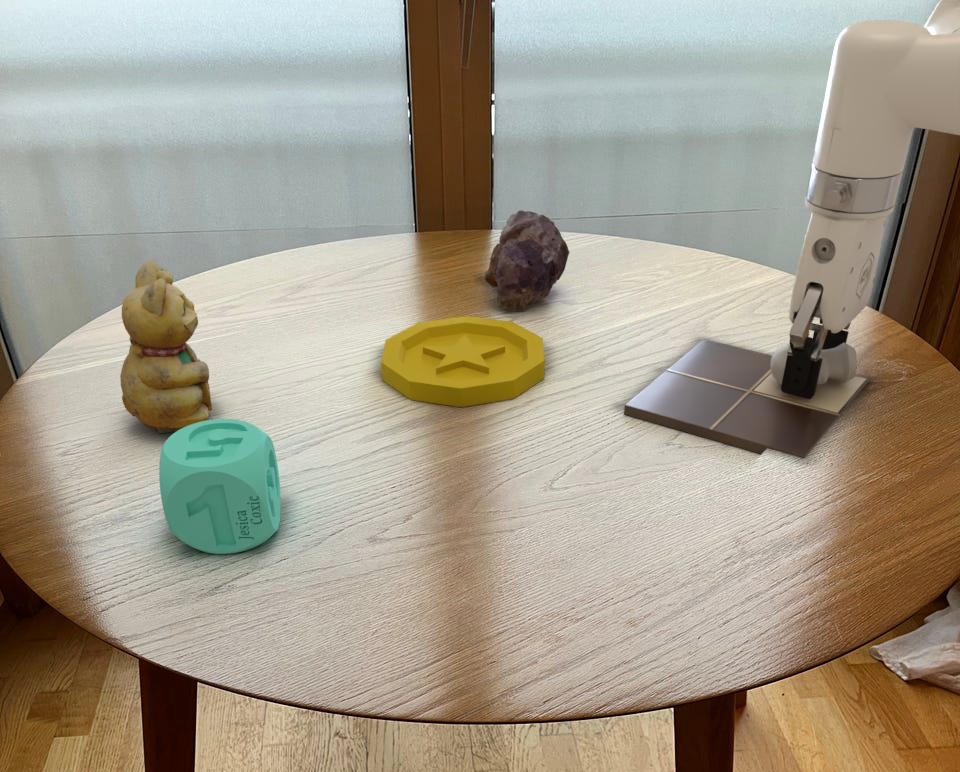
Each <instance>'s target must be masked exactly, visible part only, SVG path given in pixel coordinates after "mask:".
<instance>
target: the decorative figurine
mask: <svg viewBox="0 0 960 772" xmlns="http://www.w3.org/2000/svg"><path fill="white" fill-rule="evenodd" d="M173 279H174V278H173V275H172V273H171V272H170V271H169V270H168V269H167V268H164V267H161V266H159V267H158V263H157V260H156V259H148V260H147V261H145V262H144V263H143V264H142V265H141V266H140V267H139V269H138V270H137V273H136V275H135V284H134V285H135V288H133V289H132V290H131V291H130V292H129V293H127V294H126V296H125V298H124V299H123V302H122V304H121V319H122V323H123V326H124V329H125V330H126V332H127V334H128V336H129V342H130V346H129V350H128V354H127V355H126V357H125V358H124V360H123V362H122V367H121V371H120V375H119V377H120V387H121V391H122V395H121V401H122V404H123V406H124V408H125V410H126V411H127V412H128V413H129V414H130V415H131V416H132V417H134V418H136V419H137V420H138V421H139V422H140V423H142V424H144V426H146V427H148V426H149V427H153V428H155V429H156V432H157V434H165V433H171V432H172V433H173V432H176V431H178V430H180V429H182V428H184V427H186V426H188V425H191V424H194V423H198V422H202V421H207V420H210V415H211V413H210V411H213V405H212V398H211V397H212V396H211V391H210V384H209V380H210V369H209V365H208V364H207V363H206V362H205V361H203V360H201V359H200V358H199V359H198V356H197V354H196V353H195V351H194V350H193V348H192V347H191V346H190V344H188V343H187V342H188V341H189V340H190V339H191V338H192V336H193V335H194V334H195V331H196V330H197V328H198V325H199V318H198V315H197V312H196V310H195V304H194V302H193V301H192V300H191V299H189V298H188V297H187V296H186V295H185V293H184V292H183V291H182V290H181V289H180V288H179V287H178V286H175V285H173V283H174V282H173V281H174V280H173Z"/></svg>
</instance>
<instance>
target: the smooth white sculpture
mask: <svg viewBox="0 0 960 772" xmlns="http://www.w3.org/2000/svg"><path fill="white" fill-rule="evenodd" d="M789 345H790V343H787V344H784V345H781V346H779V347H777V348H776V349H775V350H774V352H773V354H772V355H771V356H772V358H771V365H770V366H771V372H772V375H773V377H774V379H775V380H776V381H777V382H778V383H779V384H781V385H782V380H783V375H784V370H785V364H786V359H787V352H788V348H789ZM819 358H822V359H823V360H822V364H821V369H820V373H819V378H818V382H817V384H824V383H826V382H827V379H828V378H834V379H836V380H837V381H838V382H839V383H841V384H844V383H846V382H848V381H849V380H851V379H852V378H854V376H856V374H857V366H858V361H857V352H856V349H855V348H854V347H853V346H851V345H849V344H848V343H847V342H846V343H842V344H841V345H839V346H837V347H835V348H832V349H825V350H821V353H820V356H819Z"/></svg>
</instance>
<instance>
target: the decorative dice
mask: <svg viewBox="0 0 960 772" xmlns="http://www.w3.org/2000/svg"><path fill="white" fill-rule="evenodd" d="M158 465H159V466H158V477H159V478H158V479H159V491H160V498H161V505H162V510H163V514H164V517H165V518H164V519H165V521H166V523H167V526H168V528H169V530H170V532H171V533H172V535H174V536H175V537H176V538H177V539H179V540H180V541H181V542H183V543H184V544H186V545H187V546H189V547H190V548H193V549H196V550H198V551H200V552H204V553H206V554H207V553H208V554H215V555H229V554H236V553H237V554H238V553H242V552H245V551H249V550H252V549H255V548H256V547H258V546H261V545H262V544H263V543H265V542H267V541H268V540H270V538H271V537H272V536H273V535H274V534H275V533H277V531H278V530H279V527H280V521H281V509H282V508H281V506H282V504H281V500H282V499H281V483H280V474H279V466H278V459H277V454H276V450H275V446H274V443H273V440H272V438H271V436H270V435H268V433H266V432H265V431H263V430H262V429H261V428H259V427H257V426H256V425H255V424H252V423H250V422H248V421H245V420H241V419H234V418H233V419H232V418H215V419H214V418H213V419H209V420H207V421H202V422H198V423H194V424H191V425H188V426H186V427H184V428H182V429H180V430H178V431H174V432H173V433H172V434H171V435H169V436H168V438H167V439H166V440H165V441H164V443H163V444H162V447H161V450H160V455H159V464H158Z"/></svg>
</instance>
